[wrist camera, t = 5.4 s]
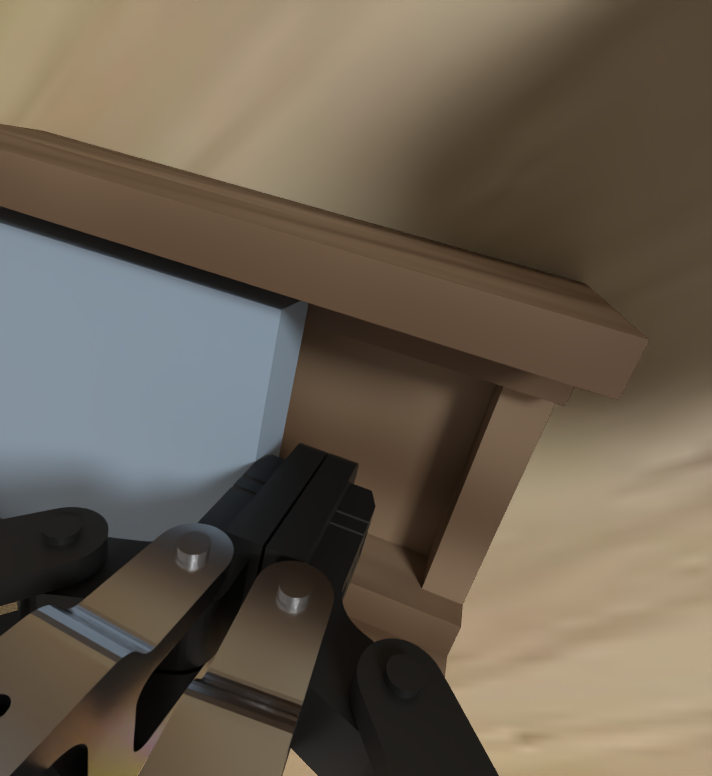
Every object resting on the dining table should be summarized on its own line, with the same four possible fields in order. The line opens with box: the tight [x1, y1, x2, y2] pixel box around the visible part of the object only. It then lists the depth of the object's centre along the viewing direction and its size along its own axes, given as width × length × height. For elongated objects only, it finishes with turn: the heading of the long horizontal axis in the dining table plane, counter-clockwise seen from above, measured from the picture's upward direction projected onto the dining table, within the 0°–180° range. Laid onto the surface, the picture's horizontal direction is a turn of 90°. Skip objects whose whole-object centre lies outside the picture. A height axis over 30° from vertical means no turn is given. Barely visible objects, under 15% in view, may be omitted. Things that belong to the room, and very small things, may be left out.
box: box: [0, 124, 649, 677], centre depth 13 cm, size 11×16×6 cm
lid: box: [0, 206, 309, 541], centre depth 12 cm, size 8×12×3 cm
